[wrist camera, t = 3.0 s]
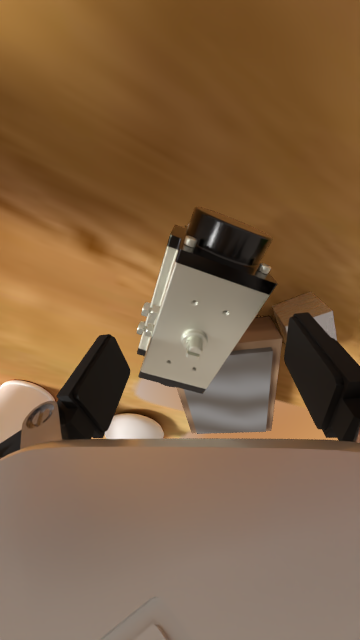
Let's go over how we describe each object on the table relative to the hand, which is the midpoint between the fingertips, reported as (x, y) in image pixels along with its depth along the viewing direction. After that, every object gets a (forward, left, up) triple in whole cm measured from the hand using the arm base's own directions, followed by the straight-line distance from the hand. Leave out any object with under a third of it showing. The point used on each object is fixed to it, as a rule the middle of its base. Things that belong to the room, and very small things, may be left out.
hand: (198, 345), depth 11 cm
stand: (+16, +1, -11) cm, 19 cm away
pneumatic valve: (0, -1, -11) cm, 11 cm away
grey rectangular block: (+8, +10, -11) cm, 17 cm away
